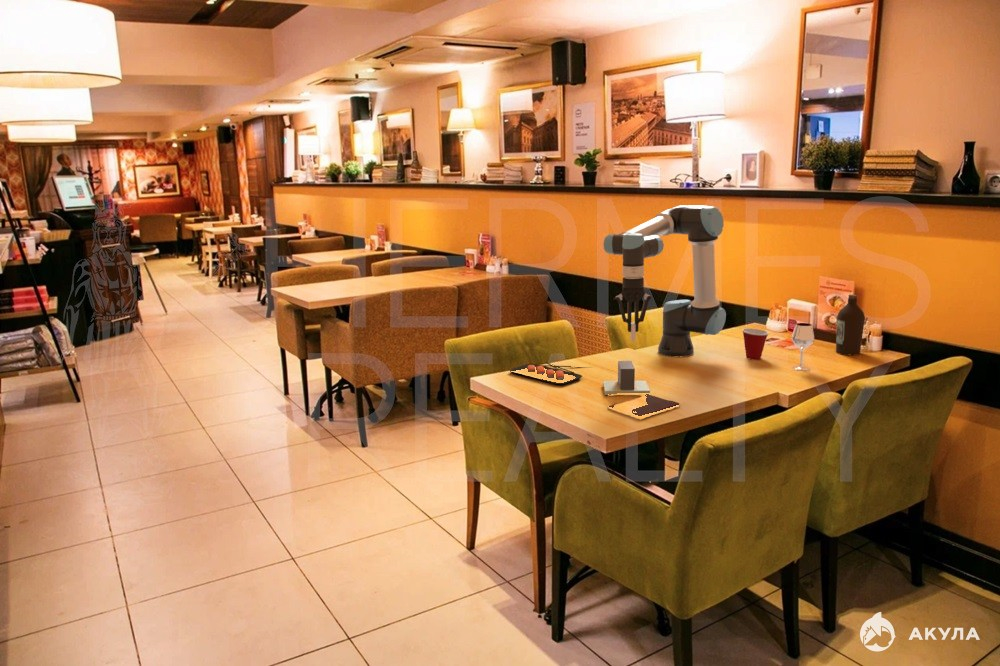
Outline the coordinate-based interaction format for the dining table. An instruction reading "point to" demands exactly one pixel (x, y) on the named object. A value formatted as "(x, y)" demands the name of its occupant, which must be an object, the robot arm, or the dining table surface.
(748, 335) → the plastic cup
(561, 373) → the sushi plate
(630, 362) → the block
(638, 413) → the notebook
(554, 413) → the dining table surface
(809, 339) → the wineglass
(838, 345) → the olive oil
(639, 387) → the board
